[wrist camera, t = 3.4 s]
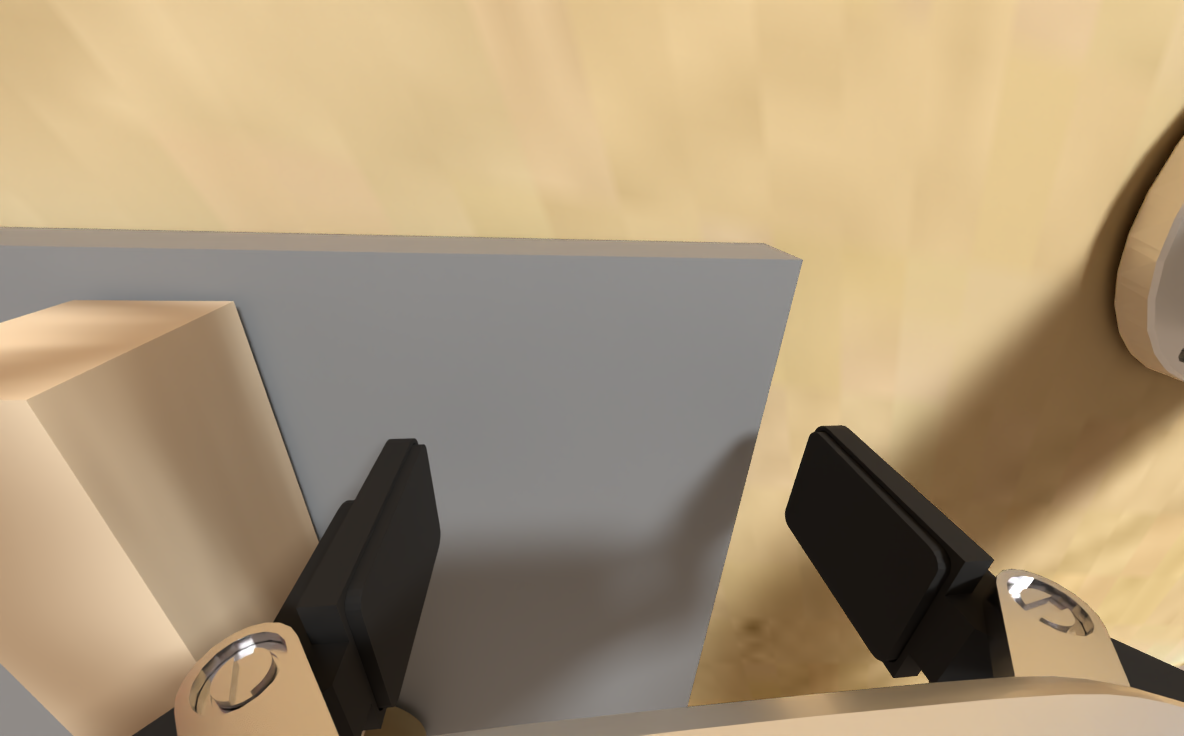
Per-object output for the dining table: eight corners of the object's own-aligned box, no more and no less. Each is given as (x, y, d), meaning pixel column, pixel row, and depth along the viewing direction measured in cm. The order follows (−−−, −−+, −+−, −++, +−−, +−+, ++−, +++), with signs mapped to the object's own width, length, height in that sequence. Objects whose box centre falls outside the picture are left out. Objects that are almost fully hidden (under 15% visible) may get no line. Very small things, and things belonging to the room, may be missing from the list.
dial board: (764, 243, 12) (805, 260, 10) (664, 707, 23) (675, 758, 21) (-512, 215, 9) (-796, 232, 7) (72, 762, 20) (22, 827, 18)
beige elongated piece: (309, 301, 9) (81, 445, 5) (435, 767, 18) (400, 961, 14) (-13, 299, 8) (-630, 462, 4) (287, 782, 18) (202, 990, 13)
